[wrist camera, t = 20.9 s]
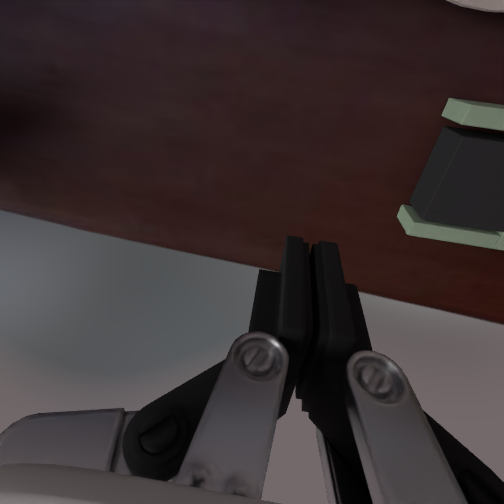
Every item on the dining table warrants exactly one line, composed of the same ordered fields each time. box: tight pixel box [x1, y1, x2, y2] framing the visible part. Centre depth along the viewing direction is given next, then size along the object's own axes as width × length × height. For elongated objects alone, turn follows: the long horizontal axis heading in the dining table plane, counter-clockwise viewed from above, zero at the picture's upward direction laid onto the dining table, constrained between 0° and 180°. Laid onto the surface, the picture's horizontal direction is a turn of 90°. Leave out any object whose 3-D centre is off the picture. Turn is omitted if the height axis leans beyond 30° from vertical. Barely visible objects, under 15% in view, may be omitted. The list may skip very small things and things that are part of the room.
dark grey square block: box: [409, 126, 504, 232], centre depth 23 cm, size 6×6×4 cm
